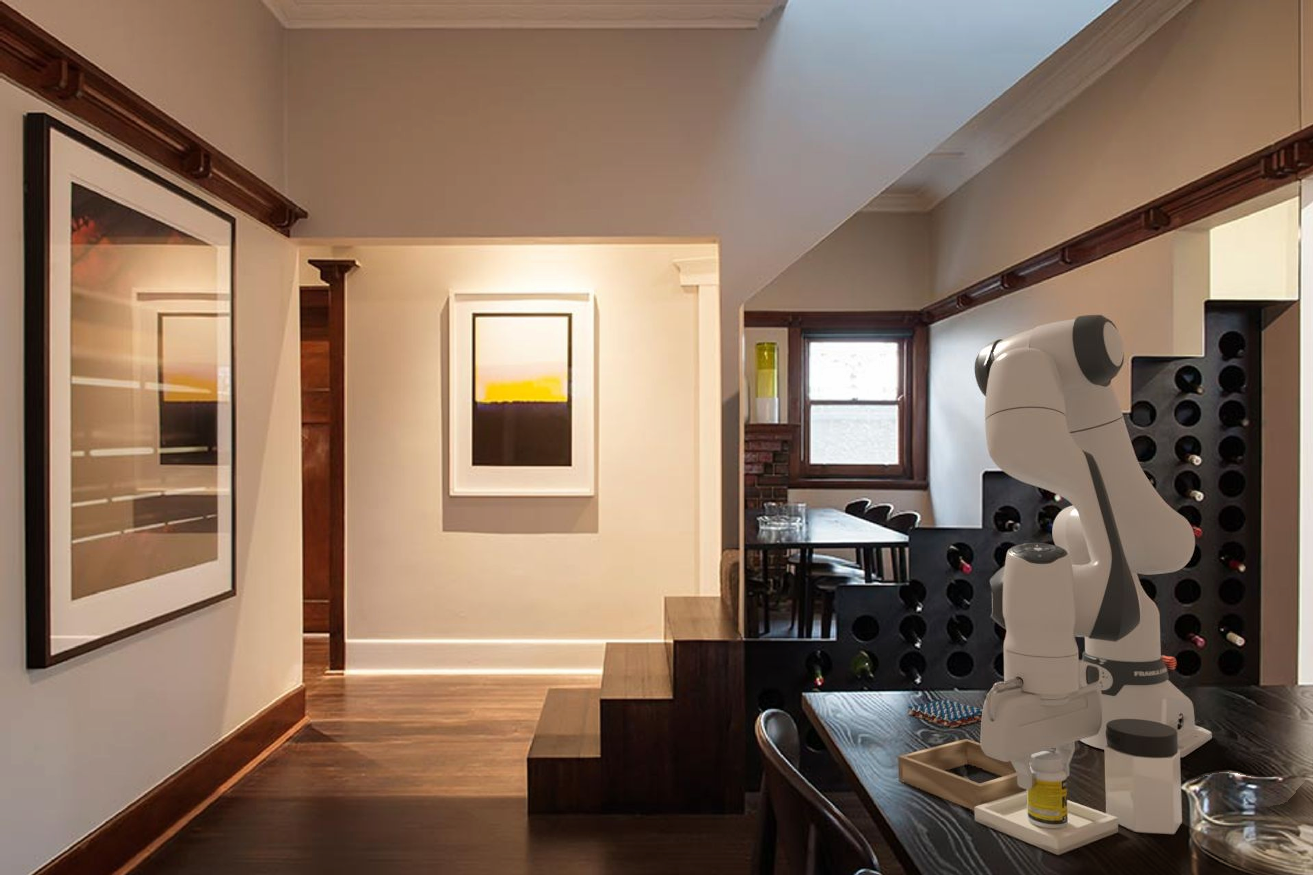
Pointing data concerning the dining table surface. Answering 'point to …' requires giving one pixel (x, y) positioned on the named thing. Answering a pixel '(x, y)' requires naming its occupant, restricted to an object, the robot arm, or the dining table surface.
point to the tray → (1077, 832)
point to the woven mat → (947, 713)
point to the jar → (1143, 775)
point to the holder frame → (932, 777)
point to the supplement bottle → (1048, 791)
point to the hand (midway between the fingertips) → (1043, 781)
